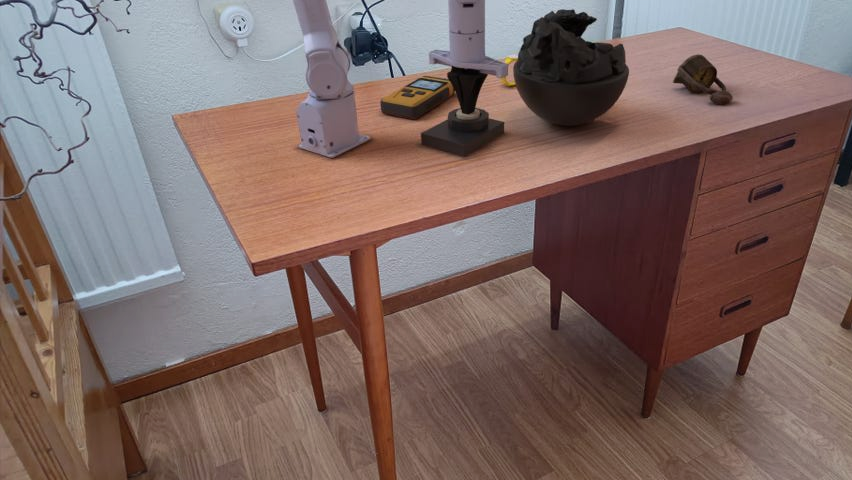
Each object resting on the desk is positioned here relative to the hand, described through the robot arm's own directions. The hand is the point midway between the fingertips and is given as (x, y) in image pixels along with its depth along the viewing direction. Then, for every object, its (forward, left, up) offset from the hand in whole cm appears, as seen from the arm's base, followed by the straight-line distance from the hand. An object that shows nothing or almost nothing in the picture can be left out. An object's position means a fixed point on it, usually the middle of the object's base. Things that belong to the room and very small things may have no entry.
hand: (468, 112), depth 112 cm
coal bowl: (+15, -11, -5) cm, 20 cm away
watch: (+27, +8, -5) cm, 29 cm away
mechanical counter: (+43, -26, -5) cm, 51 cm away
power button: (0, 0, -2) cm, 2 cm away
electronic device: (+7, +17, -5) cm, 19 cm away
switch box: (-2, 0, -4) cm, 5 cm away
